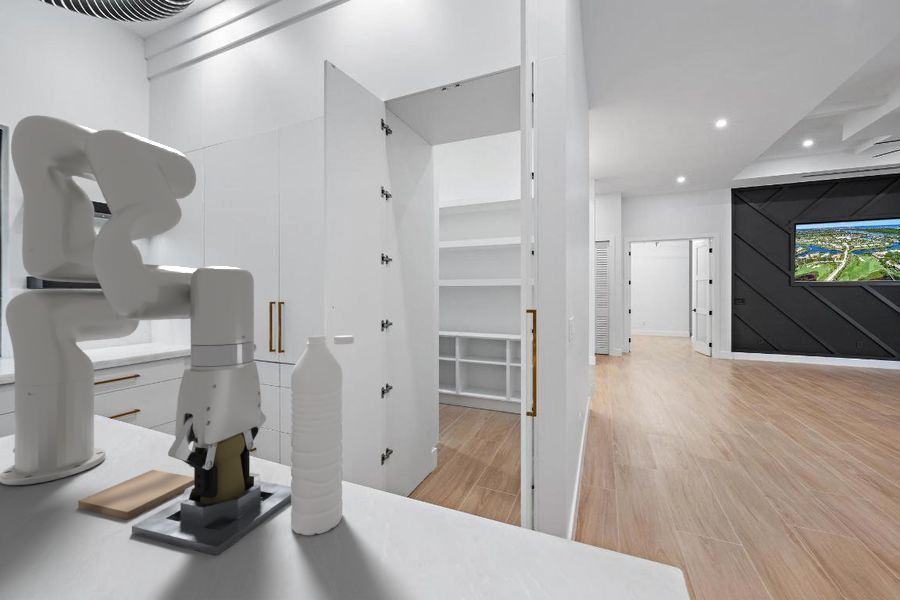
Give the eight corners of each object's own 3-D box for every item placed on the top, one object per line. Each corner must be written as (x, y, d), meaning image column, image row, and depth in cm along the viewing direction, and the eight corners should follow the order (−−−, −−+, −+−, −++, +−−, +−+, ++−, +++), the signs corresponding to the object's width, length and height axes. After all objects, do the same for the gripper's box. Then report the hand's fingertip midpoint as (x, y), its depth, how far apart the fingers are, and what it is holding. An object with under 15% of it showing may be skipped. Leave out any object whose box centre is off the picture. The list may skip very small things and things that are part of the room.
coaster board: (78, 507, 52) (78, 500, 52) (152, 475, 62) (152, 469, 62) (127, 519, 50) (127, 512, 50) (197, 484, 59) (197, 477, 59)
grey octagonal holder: (131, 533, 47) (131, 506, 47) (227, 481, 60) (227, 460, 60) (217, 555, 43) (217, 525, 43) (299, 494, 56) (299, 471, 56)
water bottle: (279, 530, 47) (279, 336, 47) (313, 504, 53) (313, 332, 53) (336, 545, 44) (336, 338, 44) (365, 515, 50) (365, 334, 51)
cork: (224, 528, 48) (224, 443, 48) (185, 522, 49) (185, 440, 49) (257, 503, 54) (257, 427, 54) (222, 498, 55) (222, 425, 55)
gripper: (250, 347, 60) (250, 458, 60) (137, 364, 44) (137, 515, 44) (288, 349, 58) (288, 463, 58) (184, 367, 42) (184, 526, 42)
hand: (223, 484), depth 51 cm, fingers closed on cork, 4 cm apart
